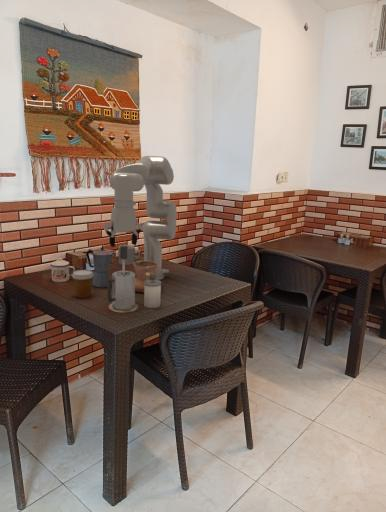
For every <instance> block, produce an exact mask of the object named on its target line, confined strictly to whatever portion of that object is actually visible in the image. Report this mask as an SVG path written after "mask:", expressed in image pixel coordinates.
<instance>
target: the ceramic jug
mask: <svg viewBox="0 0 386 512" xmlns="http://www.w3.org/2000/svg"><path fill="white" fill-rule="evenodd" d="M133 269H134V273H135V293H141V294H144V281H145V280H150V273H156V272H157V269H158V263H156V262H153V261H146V260H144V259H142V260H137V261H134V264H133Z"/></svg>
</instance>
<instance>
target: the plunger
mask: <svg viewBox="0 0 386 512" xmlns="http://www.w3.org/2000/svg"><path fill="white" fill-rule="evenodd" d="M119 246H120V258H121V259H123V265H122V271H123V274H122V275H125V271H126V265H125V259H127V246H122V245H119Z"/></svg>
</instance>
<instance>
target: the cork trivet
mask: <svg viewBox="0 0 386 512" xmlns="http://www.w3.org/2000/svg"><path fill="white" fill-rule="evenodd" d="M138 308H139V304H137V303H136V302H135V307H134V308H133V309H131V310H127V311H119V310H115V309H113V308H112V303H110V304H109V305H108V309H109V310H110V311H111V312H116V313H129V312H130V313H131V312H134V311H136V310H138Z"/></svg>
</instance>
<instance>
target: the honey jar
mask: <svg viewBox="0 0 386 512" xmlns="http://www.w3.org/2000/svg"><path fill="white" fill-rule="evenodd" d="M72 273H73V275H71V277H72V278H73V284H74V291H75V297H76V298H78V299H84V298H85V299H86V298H89V297H91V293H92V287H93V285H92V282H93V276H94V272H93V271H92V270H89V269H77V270H75V271H74V270H73V272H72Z"/></svg>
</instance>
